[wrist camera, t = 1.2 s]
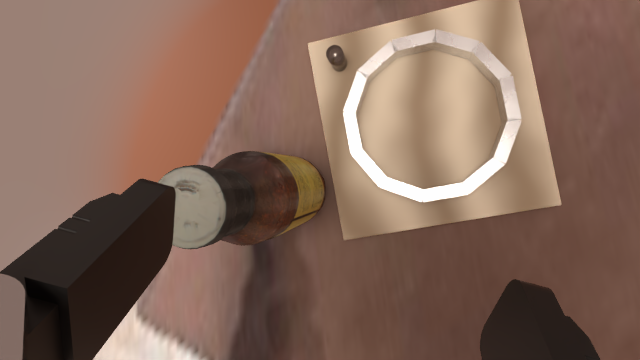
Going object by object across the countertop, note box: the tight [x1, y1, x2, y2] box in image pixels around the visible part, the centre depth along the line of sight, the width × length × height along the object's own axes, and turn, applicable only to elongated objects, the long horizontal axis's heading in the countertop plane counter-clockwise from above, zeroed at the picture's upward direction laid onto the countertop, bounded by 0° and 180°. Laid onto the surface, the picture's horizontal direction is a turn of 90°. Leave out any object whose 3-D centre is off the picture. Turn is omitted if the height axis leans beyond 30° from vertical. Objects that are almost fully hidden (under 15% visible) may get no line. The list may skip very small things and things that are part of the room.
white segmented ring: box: [326, 29, 522, 202], centre depth 35 cm, size 14×14×3 cm
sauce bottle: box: [158, 151, 325, 249], centre depth 30 cm, size 7×6×20 cm
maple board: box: [308, 0, 561, 240], centre depth 37 cm, size 18×18×1 cm
